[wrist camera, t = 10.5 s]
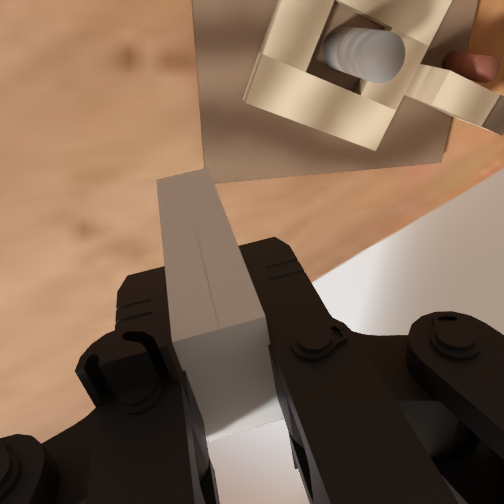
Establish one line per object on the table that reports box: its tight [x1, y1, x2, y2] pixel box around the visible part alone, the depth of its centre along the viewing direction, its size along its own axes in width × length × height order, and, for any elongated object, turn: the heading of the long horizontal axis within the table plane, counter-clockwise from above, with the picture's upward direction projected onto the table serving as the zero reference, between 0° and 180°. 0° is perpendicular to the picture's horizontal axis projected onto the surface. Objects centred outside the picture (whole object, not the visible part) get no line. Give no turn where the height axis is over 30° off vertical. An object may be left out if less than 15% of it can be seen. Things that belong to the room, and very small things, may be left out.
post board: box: [192, 0, 499, 184], centre depth 30 cm, size 20×22×8 cm
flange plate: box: [243, 0, 504, 151], centre depth 31 cm, size 19×12×5 cm, turn 69°
